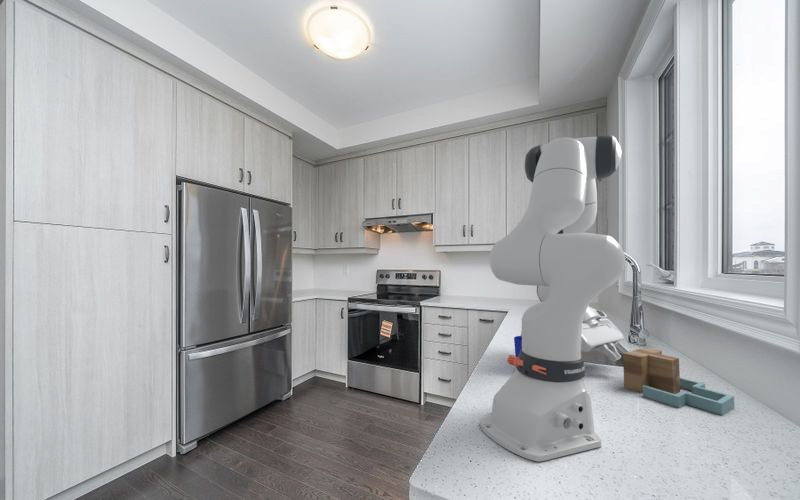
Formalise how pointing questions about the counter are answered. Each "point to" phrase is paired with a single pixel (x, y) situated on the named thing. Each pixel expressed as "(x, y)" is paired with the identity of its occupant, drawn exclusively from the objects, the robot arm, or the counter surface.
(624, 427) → the counter surface
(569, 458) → the counter surface
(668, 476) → the counter surface
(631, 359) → the t block
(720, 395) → the t pocket
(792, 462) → the counter surface
